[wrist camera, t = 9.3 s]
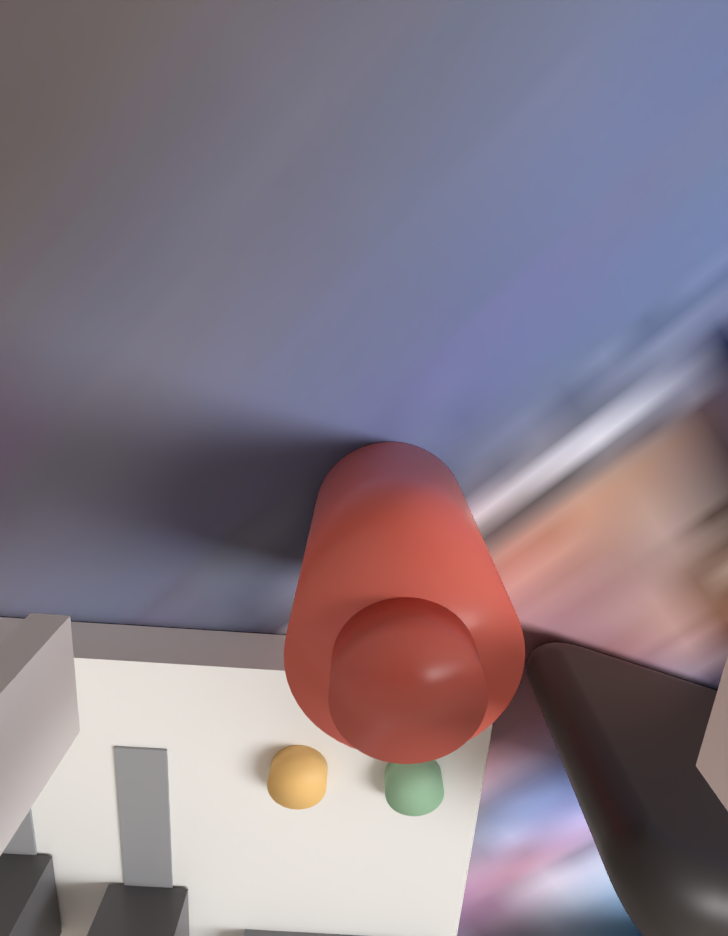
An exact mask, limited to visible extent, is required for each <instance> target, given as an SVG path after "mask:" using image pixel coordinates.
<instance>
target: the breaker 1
mask: <svg viewBox="0 0 728 936" xmlns="http://www.w3.org/2000/svg"><path fill="white" fill-rule="evenodd" d="M61 932H62V930H61V922H60V914H59V906H58V898H57V890H56V883H55V875H54V867H53V859H52V856H42V855H24V854H6V853H2V854H1V856H0V936H60V935H61Z"/></svg>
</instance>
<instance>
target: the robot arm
mask: <svg viewBox="0 0 728 936" xmlns="http://www.w3.org/2000/svg"><path fill="white" fill-rule="evenodd" d="M79 732H80V725H79V713H78V701H77V690H76V678H75V666H74V654H73V643H72V631H71V619H70V616H69V615H52V614H36V613H30V614H29V615H28V616H27V617H26V618H25V619H24V620H23V621H22V622H21V623H20V624H19V625H18V626H17V627H16V628H15V629H14V630H13V631H12V632H11V633H10V634H9V635H8V636H7V637H6V638H5V639H4V640H3V641H2V642H1V643H0V856H1V854H2V853H3V851H4V849H5V848H6V846H7V845H8V843H9V842H10V840H11V839H12V837H13V835H14V834H15V832H16V831H17V829H18V828H19V826H20V824H21V823H22V821H23V820H24V818H25V817H26V815H27V814H28V812H29V810H30V809H31V807H32V806H33V804H34V803H35V801H36V799H37V798H38V796H39V795H40V793H41V792H42V790H43V789H44V787H45V785H46V784H47V782H48V781H49V779H50V778H51V776H52V774H53V773H54V771H55V770H56V768H57V767H58V765H59V763H60V762H61V760H62V759H63V757H64V756H65V754H66V753H67V751H68V749H69V748H70V746H71V745H72V743H73V742H74V740H75V738H76V737H77V735H78V734H79ZM696 767H697V768H698V770H699V771H700V773H701V774H702V775H703V777H704V778H705V780H706V781H707V783H708V784H709V785H710V787H711V788H712V790H713V791H714V793H715V794H716V795H717V797H718V798H719V800H720V801H721V803H722V804H723V805H724V807H725V808H726V810H727V811H728V656H727V659H726V663H725V666H724V670H723V673H722V677H721V680H720V684H719V687H718V690H717V694H716V697H715V701H714V704H713V708H712V711H711V714H710V718H709V721H708V725H707V728H706V732H705V735H704V739H703V742H702V745H701V749H700V752H699V756H698V759H697V763H696Z"/></svg>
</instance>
